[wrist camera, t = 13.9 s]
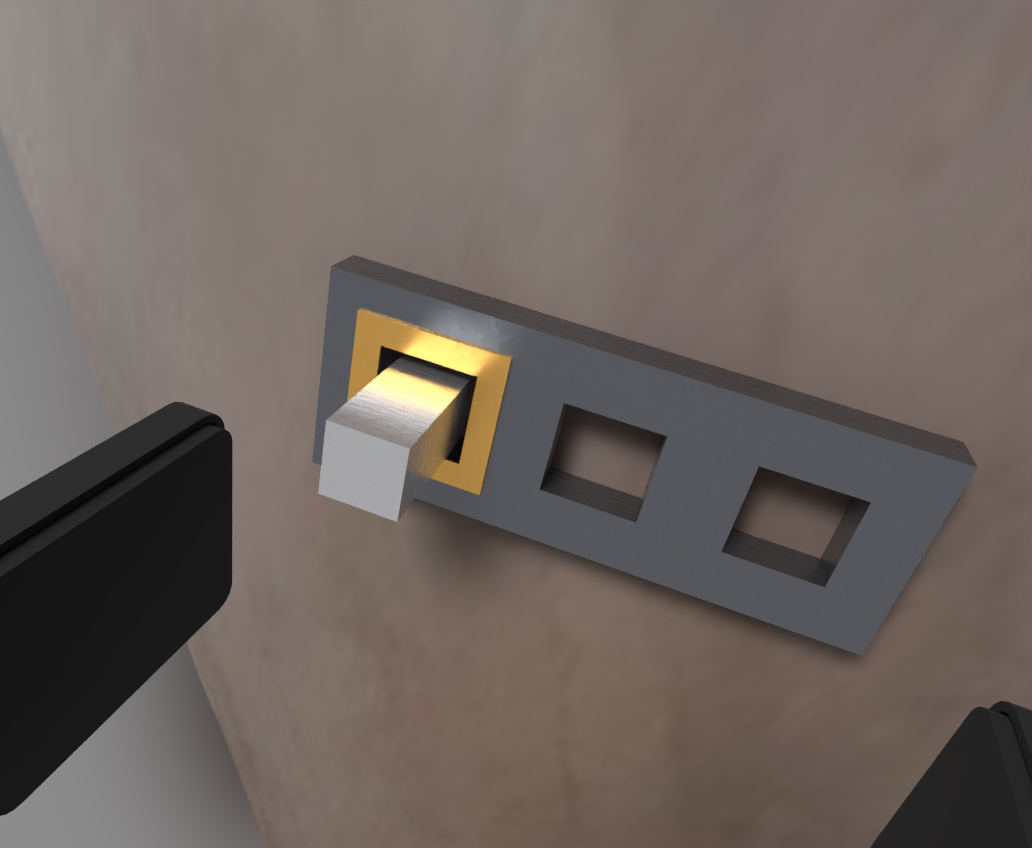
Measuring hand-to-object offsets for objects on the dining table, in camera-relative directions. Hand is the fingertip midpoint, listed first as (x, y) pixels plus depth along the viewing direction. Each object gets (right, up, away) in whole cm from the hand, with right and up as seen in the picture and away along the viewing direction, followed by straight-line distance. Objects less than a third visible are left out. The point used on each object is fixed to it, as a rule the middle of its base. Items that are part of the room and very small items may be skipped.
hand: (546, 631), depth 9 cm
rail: (+5, +2, +32) cm, 32 cm away
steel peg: (-5, +5, +33) cm, 34 cm away
